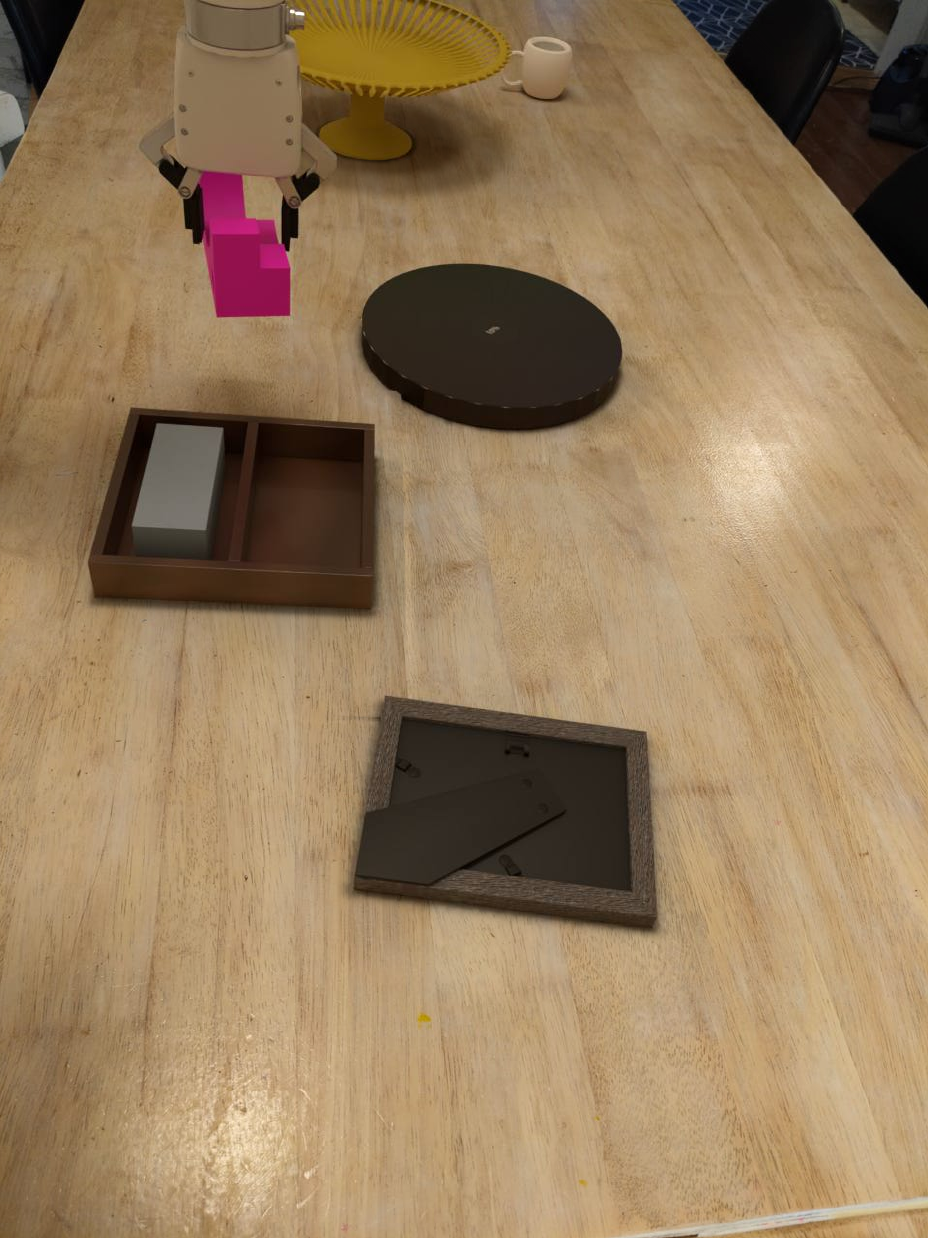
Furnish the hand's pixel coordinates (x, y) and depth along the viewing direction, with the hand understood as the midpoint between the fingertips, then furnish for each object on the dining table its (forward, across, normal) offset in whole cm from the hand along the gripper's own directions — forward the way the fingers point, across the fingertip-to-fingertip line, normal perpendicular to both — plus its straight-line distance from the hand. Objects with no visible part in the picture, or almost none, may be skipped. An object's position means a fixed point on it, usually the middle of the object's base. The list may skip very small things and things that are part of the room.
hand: (242, 238), depth 91 cm
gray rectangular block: (+19, +5, +16) cm, 25 cm away
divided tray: (+20, -1, +16) cm, 25 cm away
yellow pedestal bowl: (+20, -13, -71) cm, 75 cm away
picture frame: (+20, -22, +46) cm, 55 cm away
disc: (+20, -26, -16) cm, 36 cm away
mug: (+20, -41, -96) cm, 107 cm away
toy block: (+3, 0, 0) cm, 3 cm away
